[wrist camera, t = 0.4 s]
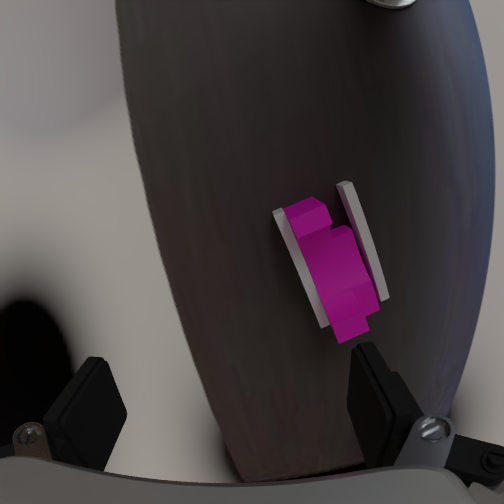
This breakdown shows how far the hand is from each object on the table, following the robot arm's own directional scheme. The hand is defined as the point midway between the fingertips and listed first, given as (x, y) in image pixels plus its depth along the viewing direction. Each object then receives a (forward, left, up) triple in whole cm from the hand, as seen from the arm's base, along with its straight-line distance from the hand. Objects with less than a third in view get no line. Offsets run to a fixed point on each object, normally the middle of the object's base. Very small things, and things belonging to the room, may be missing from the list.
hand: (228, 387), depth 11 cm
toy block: (-8, +7, -28) cm, 30 cm away
